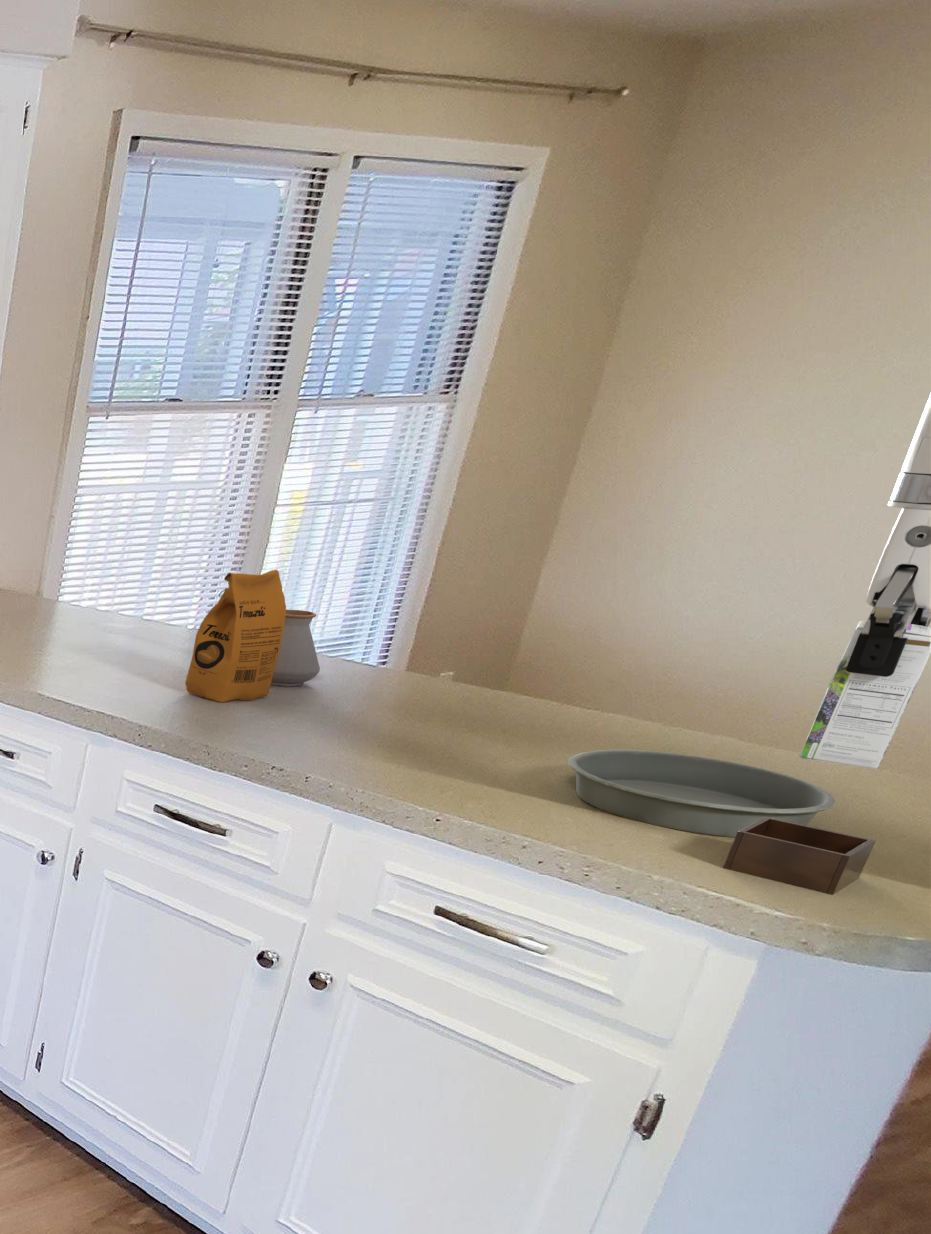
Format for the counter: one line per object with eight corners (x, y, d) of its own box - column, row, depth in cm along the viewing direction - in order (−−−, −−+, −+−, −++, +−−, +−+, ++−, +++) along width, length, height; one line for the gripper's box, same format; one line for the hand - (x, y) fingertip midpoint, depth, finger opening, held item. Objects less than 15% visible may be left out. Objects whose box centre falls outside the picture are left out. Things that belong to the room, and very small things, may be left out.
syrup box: (803, 748, 130) (855, 618, 124) (883, 759, 125) (941, 625, 120) (798, 759, 126) (852, 626, 121) (881, 771, 122) (940, 634, 117)
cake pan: (536, 769, 169) (546, 740, 167) (771, 794, 157) (784, 762, 156) (589, 825, 148) (601, 791, 147) (863, 857, 137) (879, 822, 136)
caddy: (853, 890, 129) (876, 840, 127) (827, 907, 125) (849, 856, 123) (745, 864, 136) (765, 816, 134) (717, 880, 132) (737, 831, 130)
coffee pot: (331, 685, 214) (352, 604, 208) (283, 691, 211) (303, 608, 205) (229, 660, 233) (246, 585, 228) (184, 665, 230) (200, 589, 225)
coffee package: (173, 690, 213) (199, 569, 205) (231, 685, 215) (258, 565, 207) (218, 704, 203) (246, 577, 196) (277, 699, 206) (307, 574, 198)
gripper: (985, 501, 109) (908, 688, 115) (1032, 489, 117) (957, 665, 123) (866, 496, 115) (799, 674, 121) (919, 485, 123) (853, 653, 129)
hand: (879, 668), depth 122 cm, fingers closed on syrup box, 6 cm apart
